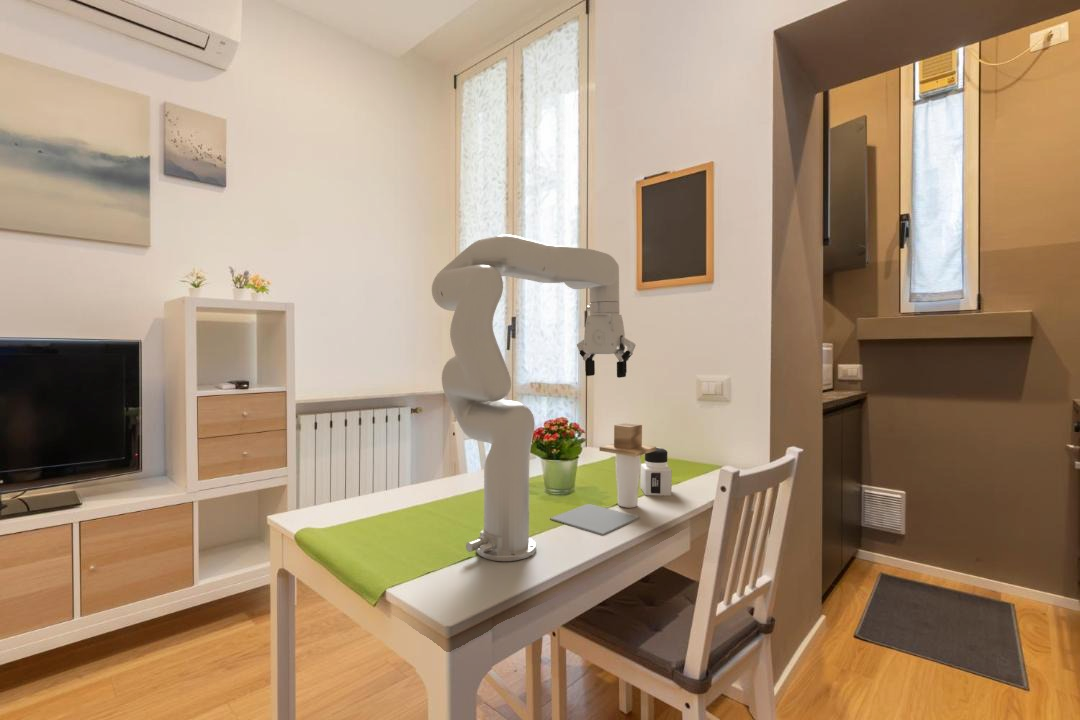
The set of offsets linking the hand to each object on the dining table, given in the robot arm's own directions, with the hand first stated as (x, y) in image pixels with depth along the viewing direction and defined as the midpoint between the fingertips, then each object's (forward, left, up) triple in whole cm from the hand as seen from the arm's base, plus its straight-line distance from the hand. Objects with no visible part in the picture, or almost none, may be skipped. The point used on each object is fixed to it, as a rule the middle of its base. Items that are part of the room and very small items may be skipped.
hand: (605, 376), depth 133 cm
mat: (-5, -1, -36) cm, 36 cm away
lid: (+10, -1, -21) cm, 23 cm away
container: (+27, 0, -36) cm, 45 cm away
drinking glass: (+10, -1, -36) cm, 37 cm away
